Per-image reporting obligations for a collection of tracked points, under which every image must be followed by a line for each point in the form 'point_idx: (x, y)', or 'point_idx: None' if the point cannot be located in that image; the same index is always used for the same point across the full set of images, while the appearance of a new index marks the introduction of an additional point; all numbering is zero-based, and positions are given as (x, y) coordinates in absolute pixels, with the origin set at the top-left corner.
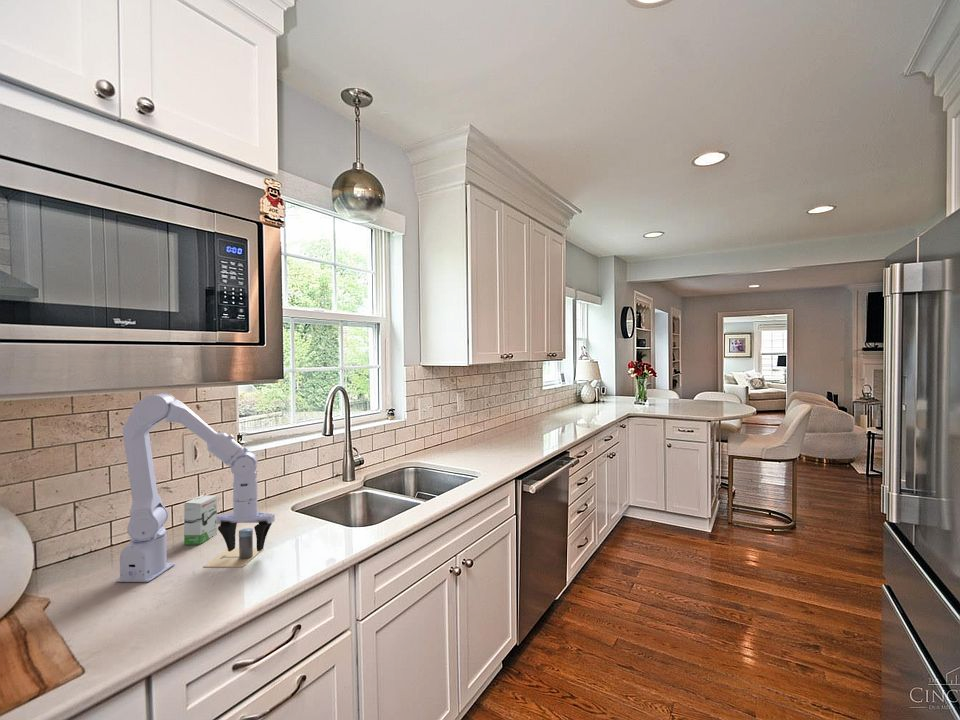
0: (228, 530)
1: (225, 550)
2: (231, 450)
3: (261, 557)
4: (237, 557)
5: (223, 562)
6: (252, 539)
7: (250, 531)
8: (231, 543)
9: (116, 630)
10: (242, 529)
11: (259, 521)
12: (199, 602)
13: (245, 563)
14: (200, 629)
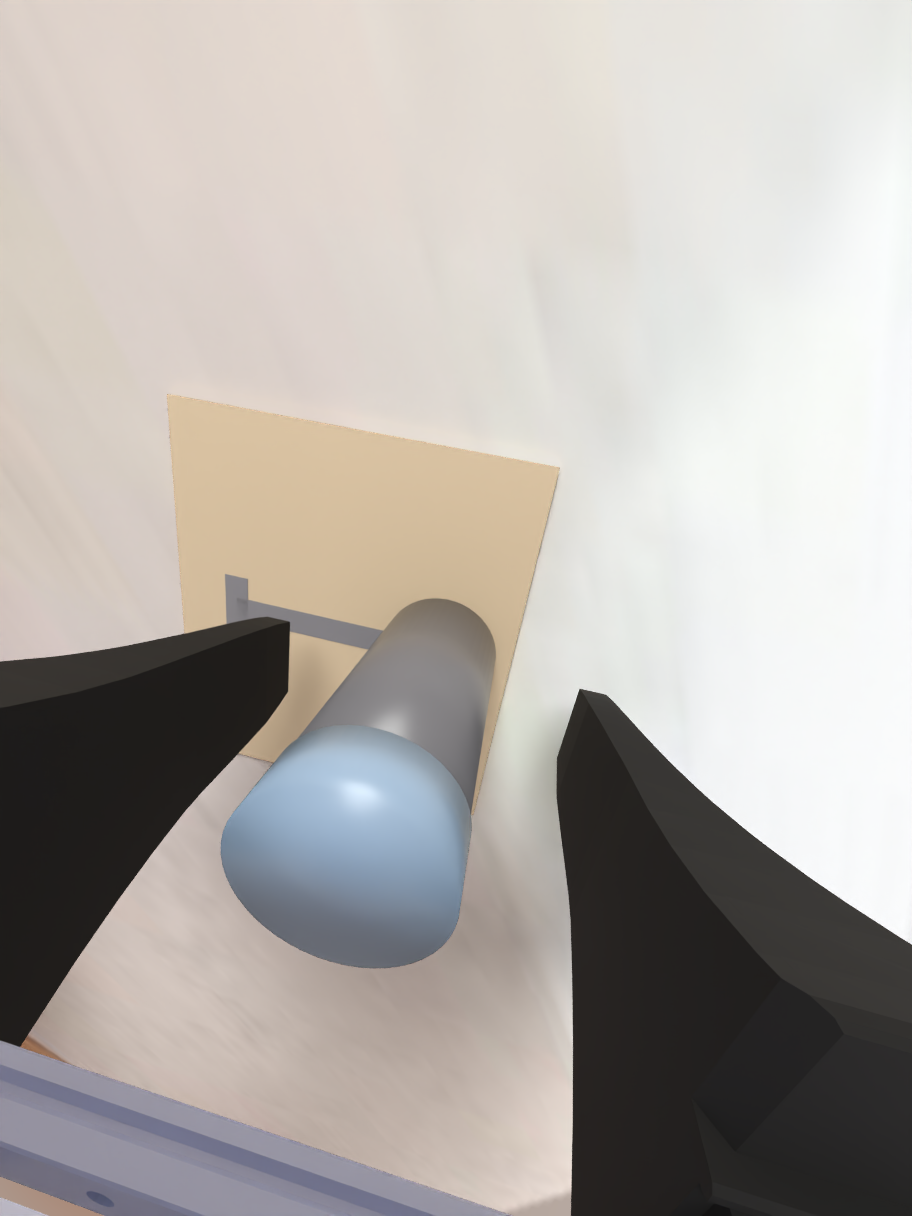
0: (62, 939)
1: (173, 443)
2: None
3: (581, 673)
4: (367, 648)
5: (298, 713)
6: (478, 762)
7: (442, 935)
8: (239, 713)
9: (218, 1106)
10: (246, 819)
11: None
12: (400, 1067)
13: (478, 775)
14: (490, 1196)
